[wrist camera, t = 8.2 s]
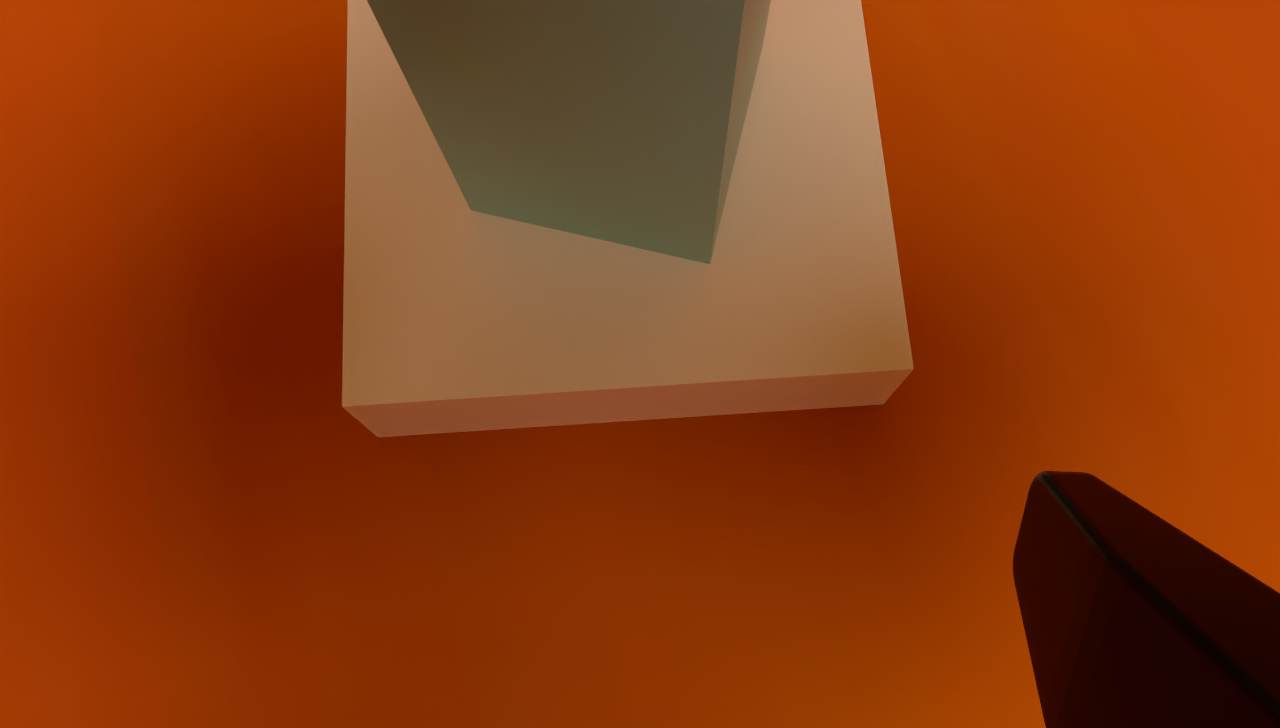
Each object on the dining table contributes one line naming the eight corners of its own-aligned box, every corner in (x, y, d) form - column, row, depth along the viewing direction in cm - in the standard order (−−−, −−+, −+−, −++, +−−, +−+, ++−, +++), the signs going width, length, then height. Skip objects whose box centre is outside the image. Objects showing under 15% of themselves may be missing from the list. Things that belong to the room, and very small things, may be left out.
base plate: (878, 409, 21) (914, 369, 18) (383, 442, 21) (341, 407, 18) (822, -15, 24) (845, -108, 21) (385, 13, 24) (348, -77, 21)
